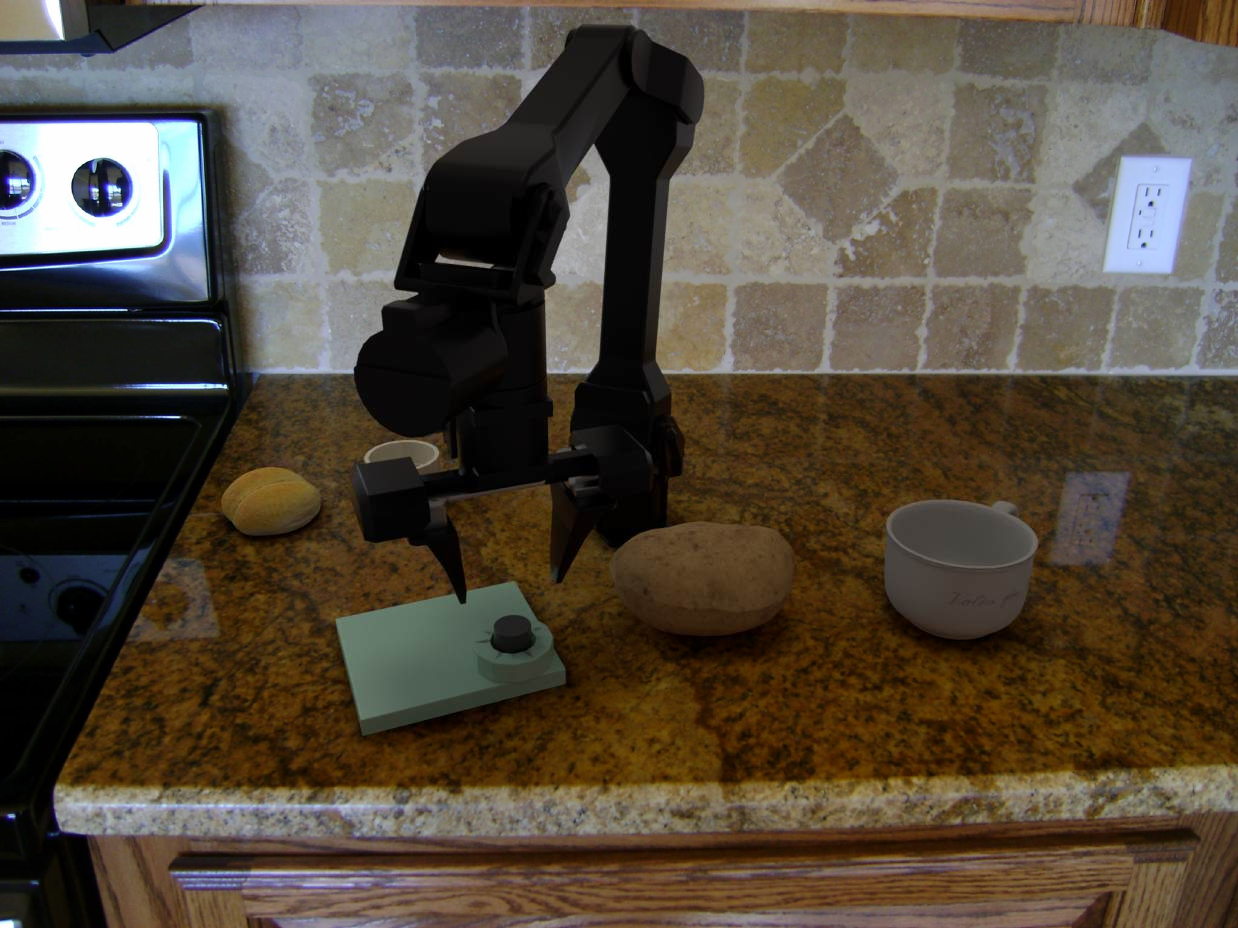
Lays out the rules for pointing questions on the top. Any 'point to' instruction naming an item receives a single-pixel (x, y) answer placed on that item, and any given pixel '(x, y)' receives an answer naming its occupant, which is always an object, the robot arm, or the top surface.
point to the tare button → (512, 634)
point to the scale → (441, 657)
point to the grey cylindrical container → (408, 454)
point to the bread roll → (270, 502)
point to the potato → (704, 577)
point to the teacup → (958, 566)
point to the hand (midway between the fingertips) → (509, 590)
